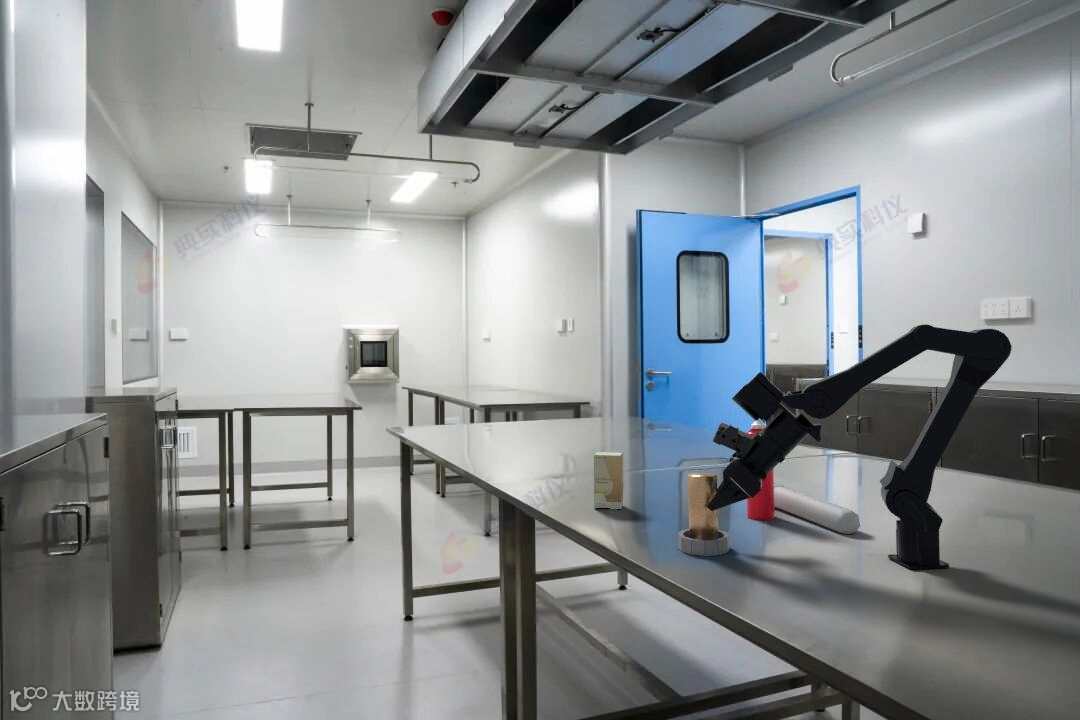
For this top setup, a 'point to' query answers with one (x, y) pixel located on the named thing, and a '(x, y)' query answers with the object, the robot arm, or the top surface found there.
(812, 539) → the top surface
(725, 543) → the collar
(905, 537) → the robot arm
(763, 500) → the bottle
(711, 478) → the copper stub
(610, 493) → the skincare box
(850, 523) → the tube
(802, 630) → the top surface
